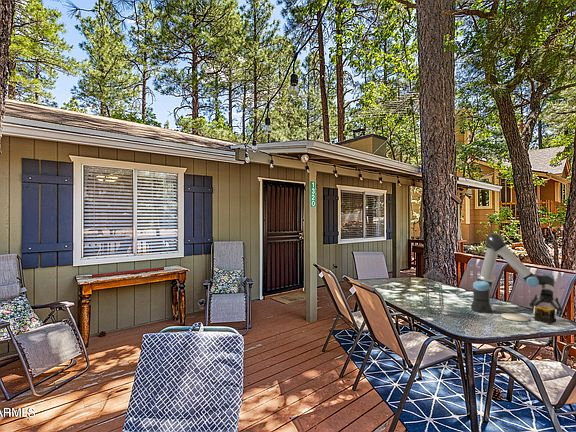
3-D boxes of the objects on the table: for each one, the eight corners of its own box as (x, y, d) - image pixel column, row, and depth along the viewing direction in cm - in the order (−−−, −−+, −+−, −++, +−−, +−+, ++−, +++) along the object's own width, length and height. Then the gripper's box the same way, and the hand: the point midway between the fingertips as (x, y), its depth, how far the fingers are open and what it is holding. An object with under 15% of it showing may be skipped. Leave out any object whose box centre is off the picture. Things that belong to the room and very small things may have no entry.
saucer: (495, 316, 253) (495, 315, 253) (508, 313, 262) (508, 312, 262) (521, 323, 237) (521, 321, 237) (534, 319, 246) (534, 318, 246)
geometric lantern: (425, 314, 261) (423, 270, 263) (424, 309, 276) (423, 267, 277) (446, 315, 256) (445, 270, 257) (444, 310, 271) (443, 268, 272)
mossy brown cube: (550, 324, 235) (549, 310, 235) (534, 320, 244) (533, 307, 244) (556, 322, 240) (556, 308, 240) (540, 318, 248) (540, 305, 249)
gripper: (567, 297, 244) (566, 322, 233) (528, 292, 261) (525, 315, 250) (567, 291, 241) (565, 316, 230) (527, 286, 258) (523, 310, 246)
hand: (544, 316), depth 240 cm, fingers closed on mossy brown cube, 12 cm apart
